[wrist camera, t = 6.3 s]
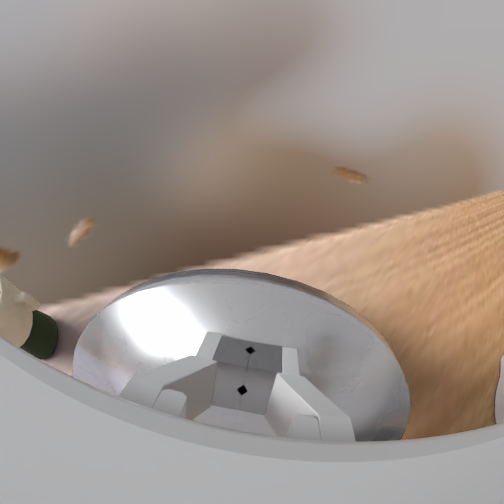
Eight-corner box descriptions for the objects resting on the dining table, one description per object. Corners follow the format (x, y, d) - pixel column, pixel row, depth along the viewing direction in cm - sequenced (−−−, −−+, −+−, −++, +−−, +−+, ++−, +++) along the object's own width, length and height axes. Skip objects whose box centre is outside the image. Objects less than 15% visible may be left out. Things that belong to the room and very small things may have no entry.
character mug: (70, 303, 33) (16, 254, 21) (78, 353, 29) (16, 319, 18) (15, 323, 30) (-42, 284, 19) (20, 370, 27) (-45, 341, 16)
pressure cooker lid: (331, 496, 14) (333, 523, 12) (111, 451, 15) (97, 475, 13) (457, 307, 9) (489, 338, 7) (71, 231, 10) (30, 248, 8)
